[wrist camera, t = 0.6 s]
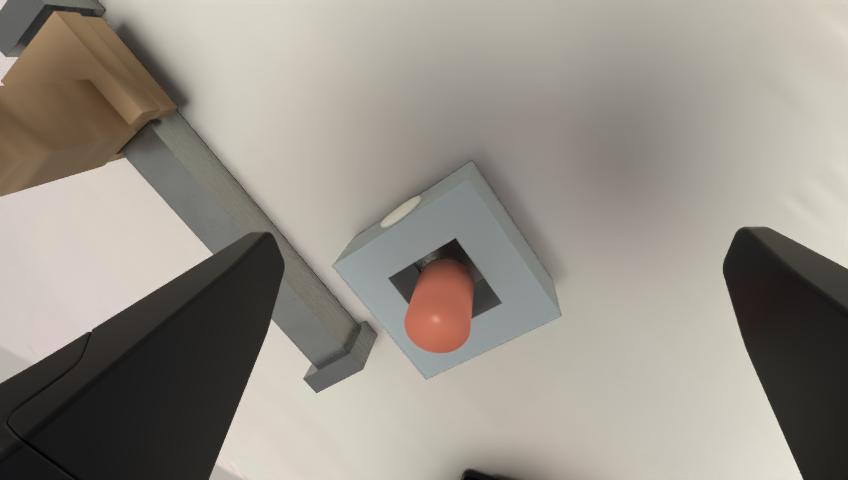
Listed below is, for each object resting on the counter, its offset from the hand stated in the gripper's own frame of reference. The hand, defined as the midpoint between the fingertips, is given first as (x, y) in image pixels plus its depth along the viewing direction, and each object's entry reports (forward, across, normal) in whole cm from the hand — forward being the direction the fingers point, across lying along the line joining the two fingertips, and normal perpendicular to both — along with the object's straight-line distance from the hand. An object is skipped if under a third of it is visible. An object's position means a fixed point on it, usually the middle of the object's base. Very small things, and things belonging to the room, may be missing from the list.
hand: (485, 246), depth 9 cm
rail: (+12, +15, +7) cm, 21 cm away
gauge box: (+11, +2, +10) cm, 16 cm away
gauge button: (+9, +2, +10) cm, 13 cm away
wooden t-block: (+13, +19, +1) cm, 23 cm away
